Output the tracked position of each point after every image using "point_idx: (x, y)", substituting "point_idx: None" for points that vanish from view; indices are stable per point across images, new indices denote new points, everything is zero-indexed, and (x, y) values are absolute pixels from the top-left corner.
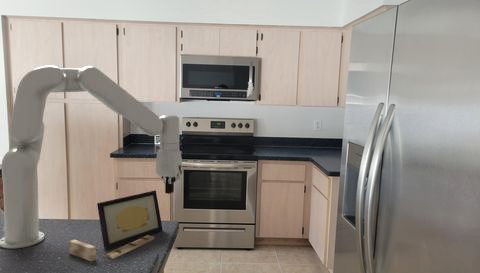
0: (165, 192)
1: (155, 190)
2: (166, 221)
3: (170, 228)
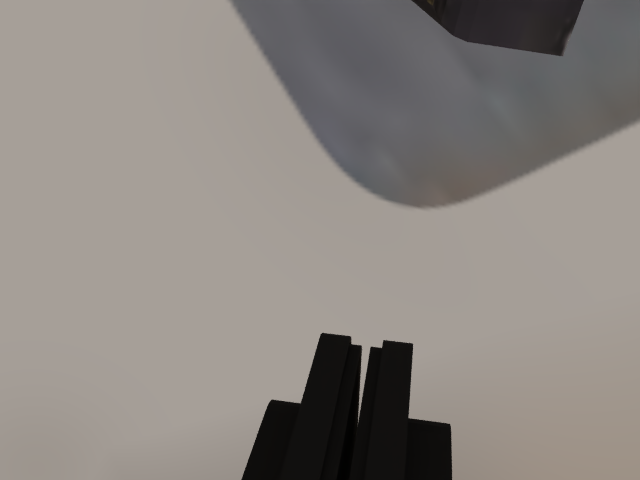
0: (403, 347)
1: (453, 10)
2: (457, 181)
3: (286, 28)
